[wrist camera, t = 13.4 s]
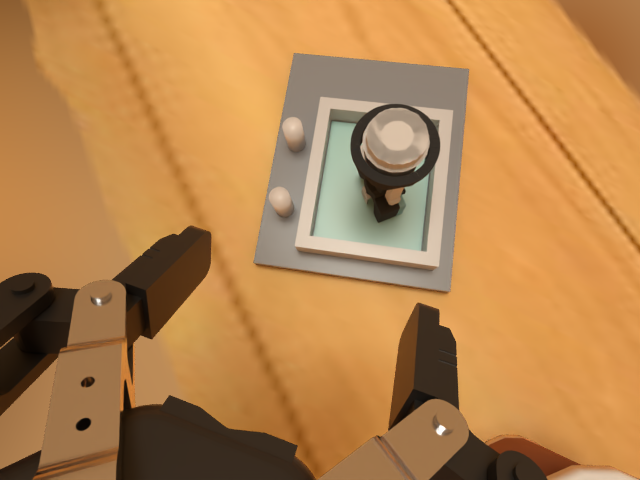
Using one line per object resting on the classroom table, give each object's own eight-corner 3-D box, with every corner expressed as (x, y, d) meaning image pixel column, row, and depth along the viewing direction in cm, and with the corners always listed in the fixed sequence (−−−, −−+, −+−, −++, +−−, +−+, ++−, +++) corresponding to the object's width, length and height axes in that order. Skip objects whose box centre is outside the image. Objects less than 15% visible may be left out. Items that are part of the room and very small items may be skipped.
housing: (256, 264, 32) (243, 256, 28) (295, 60, 35) (289, 28, 32) (446, 292, 30) (461, 288, 26) (465, 76, 34) (481, 44, 30)
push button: (333, 163, 32) (328, 95, 22) (390, 141, 32) (411, 62, 22) (363, 233, 30) (372, 193, 20) (423, 210, 30) (461, 158, 21)
